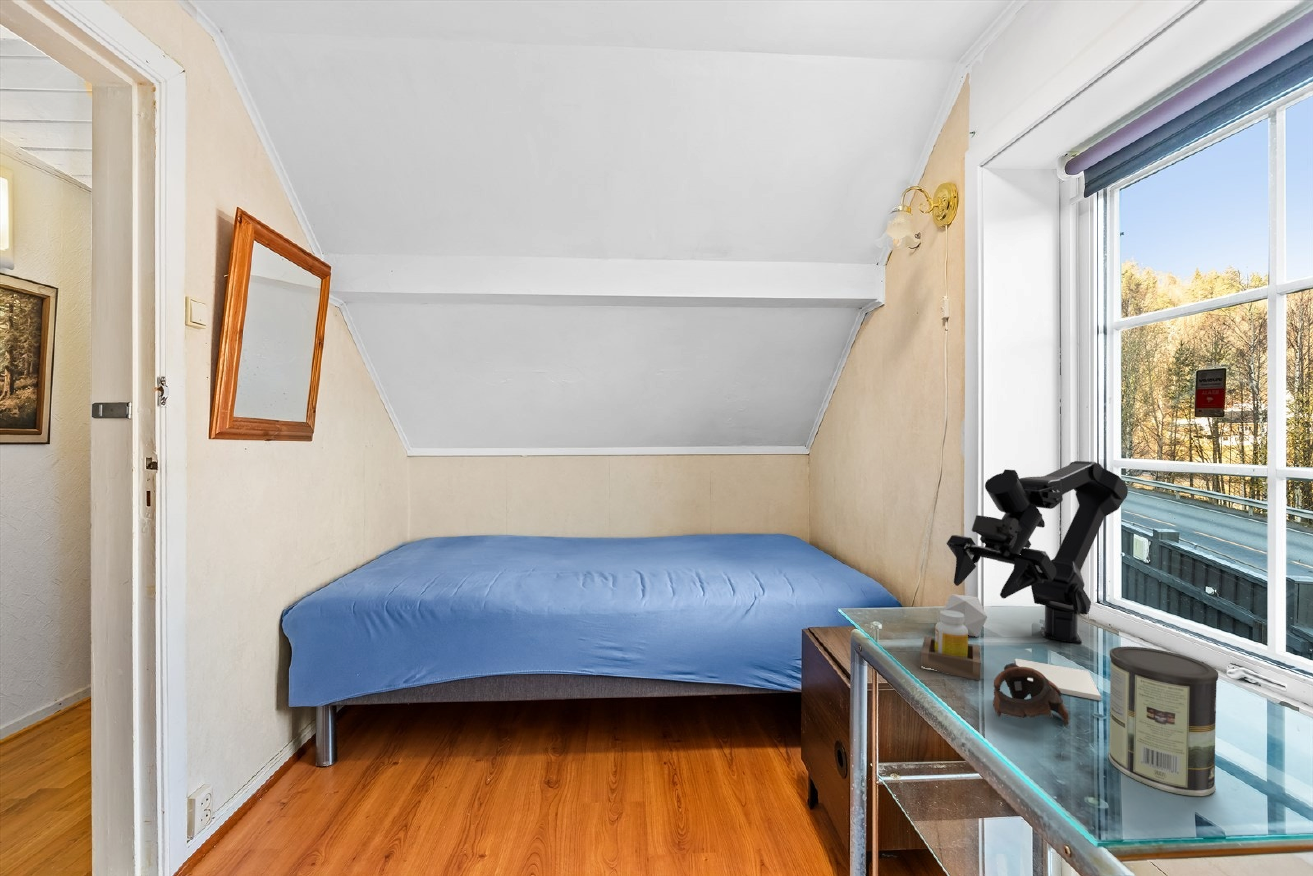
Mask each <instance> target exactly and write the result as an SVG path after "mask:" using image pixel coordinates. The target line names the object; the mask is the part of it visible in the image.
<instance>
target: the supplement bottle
mask: <svg viewBox="0 0 1313 876" xmlns="http://www.w3.org/2000/svg"><path fill="white" fill-rule="evenodd" d="M939 620H940V621H938V622H937V623H936V624H935V627H934V628H935V629H934V638H935V653H941V654H946V655H952V656H958V657H963V658H967V654H968V644H969V636H968V629H967V628H966V626H964V625H963V623H964V621H965V620H964V614H963V613H960V612H957V611H952V610H944V609H942V610H940V611H939Z"/></svg>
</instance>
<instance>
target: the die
mask: <svg viewBox="0 0 1313 876" xmlns="http://www.w3.org/2000/svg"><path fill="white" fill-rule="evenodd" d="M979 599H980V598H979V597H978V596H969V595H962V594H954V593H951V594H950V596H949V598H948V599H947V602H946V604H945V606H944V608H943V610H952V611H957V612H960V613H963V614H964V620H965V621H964V623H963V625H964V626H966V628H967V629H968V635H969V636H968V637H974V636H975V637H974V638H978V637H979V635H980V634H981V631H982V629H983V627H984V625H985V623H986V620H987V618H988V616H987V614H986V611H985V609H984V607H983V606H982V604H981V602H980V601H981V600H979Z"/></svg>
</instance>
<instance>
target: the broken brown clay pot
mask: <svg viewBox="0 0 1313 876" xmlns="http://www.w3.org/2000/svg"><path fill="white" fill-rule="evenodd" d="M1028 678H1033V681H1030V680H1027V679H1028ZM1004 682H1005V683H1006V685H1007V687H1008V690H1009V694H1010V696H1011V697H1010V696H1009V695H1007V694H1005V693H1004V692H1003V691H1001V687H1002V684H1003V683H1004ZM993 688H994V689H993V699H992V705H993V709H994V712H995V714H997V716H998V717H1001V715H1002V714H1003V715H1004V716H1005V715H1006V716H1010V717H1015V718H1021V719H1026V718H1027V717H1028V718H1036V717H1039V716H1047V717H1049V718H1053V717H1054V716H1053V713H1052V711H1053V712H1055V713H1056V714H1058V715H1059V716H1060V718H1062V719H1063V721H1064V723H1065V724H1066V725H1069V712H1068V710H1067V708H1066V707H1065V705H1064V701H1063V698H1062V697H1061V696H1062V695H1061V694H1062V693H1061V691H1060V690H1059V689H1058V687H1057V686H1056V685H1055V684H1054V683H1052V682H1051V681H1050V680H1048V679H1047V678H1046V677H1045V676H1044V675H1043V674H1042V673H1040V672H1039V671H1037V670H1034V669H1032V668H1028V667H1019V666H1018V665H1016V664H1015V663H1013V662H1011V663H1008V664H1006V665H1005V666H1004V667H1003V670H1002V671H1001V672H999V673H998V674H997V675H996V677H995V678H994V680H993ZM1029 695H1030V698H1027V697H1028V696H1029Z"/></svg>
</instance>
